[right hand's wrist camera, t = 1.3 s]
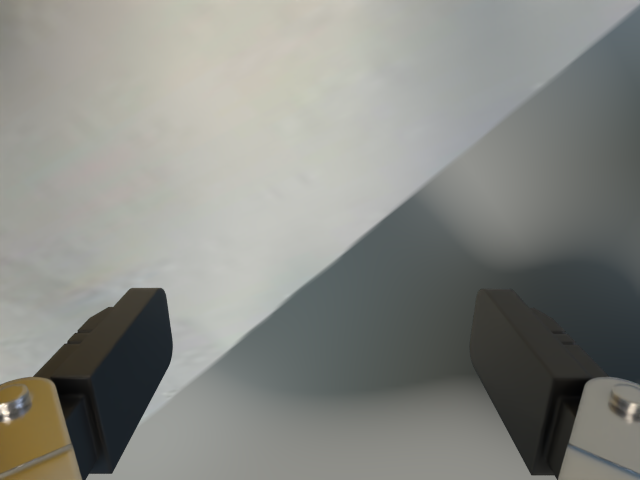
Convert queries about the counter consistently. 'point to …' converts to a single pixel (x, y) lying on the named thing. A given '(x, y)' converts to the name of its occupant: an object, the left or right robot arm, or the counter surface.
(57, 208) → the counter surface
